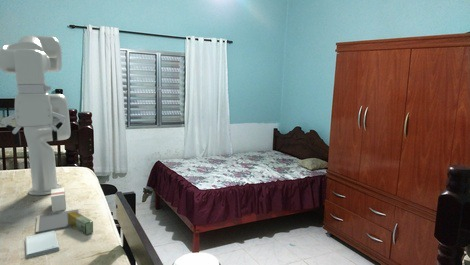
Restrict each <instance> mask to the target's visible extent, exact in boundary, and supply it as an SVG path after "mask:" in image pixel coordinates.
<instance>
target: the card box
mask: <svg viewBox="0 0 470 265" xmlns="http://www.w3.org/2000/svg"><path fill="white" fill-rule="evenodd" d="M50 201H51V210H52V211H51V212H52V213H56V212H62V211H67V202H66V192H65V187H61V188H57V189H51V194H50Z"/></svg>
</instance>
